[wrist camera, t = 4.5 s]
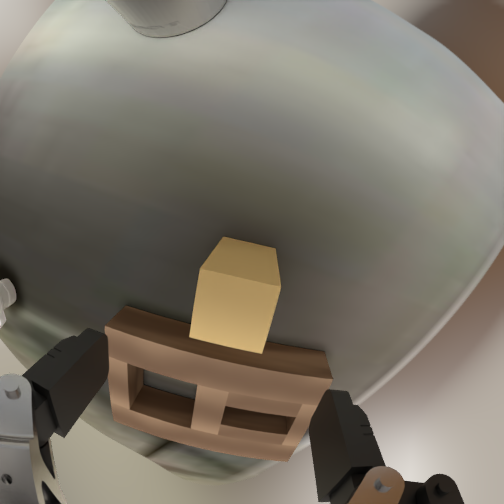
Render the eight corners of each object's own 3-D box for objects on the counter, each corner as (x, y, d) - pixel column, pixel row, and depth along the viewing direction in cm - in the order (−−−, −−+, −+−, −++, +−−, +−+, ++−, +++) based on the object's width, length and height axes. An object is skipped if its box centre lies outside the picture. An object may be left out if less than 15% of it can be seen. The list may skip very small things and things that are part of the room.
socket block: (125, 305, 23) (104, 325, 19) (324, 351, 23) (332, 379, 19) (127, 397, 26) (113, 420, 22) (286, 434, 26) (287, 461, 22)
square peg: (223, 236, 21) (199, 268, 14) (275, 248, 21) (281, 287, 14) (213, 285, 22) (189, 337, 15) (263, 296, 22) (261, 353, 15)
